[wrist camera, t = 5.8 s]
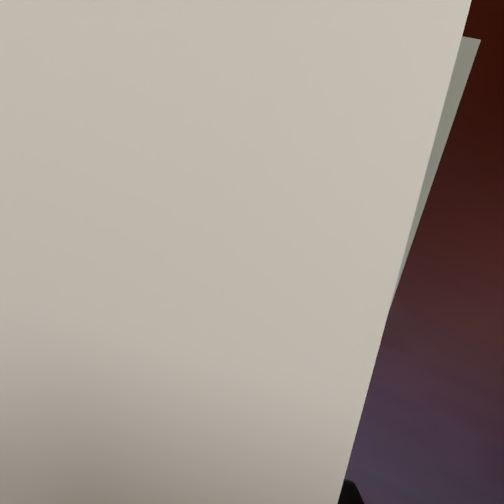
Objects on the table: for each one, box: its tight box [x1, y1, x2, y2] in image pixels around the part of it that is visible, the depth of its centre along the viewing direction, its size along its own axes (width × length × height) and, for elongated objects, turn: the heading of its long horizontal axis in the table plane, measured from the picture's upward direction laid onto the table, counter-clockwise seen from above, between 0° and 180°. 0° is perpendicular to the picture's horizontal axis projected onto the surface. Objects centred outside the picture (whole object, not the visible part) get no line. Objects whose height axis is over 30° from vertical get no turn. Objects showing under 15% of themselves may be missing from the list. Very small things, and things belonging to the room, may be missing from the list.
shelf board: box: [0, 0, 472, 504], centre depth 9 cm, size 16×6×3 cm, turn 173°
